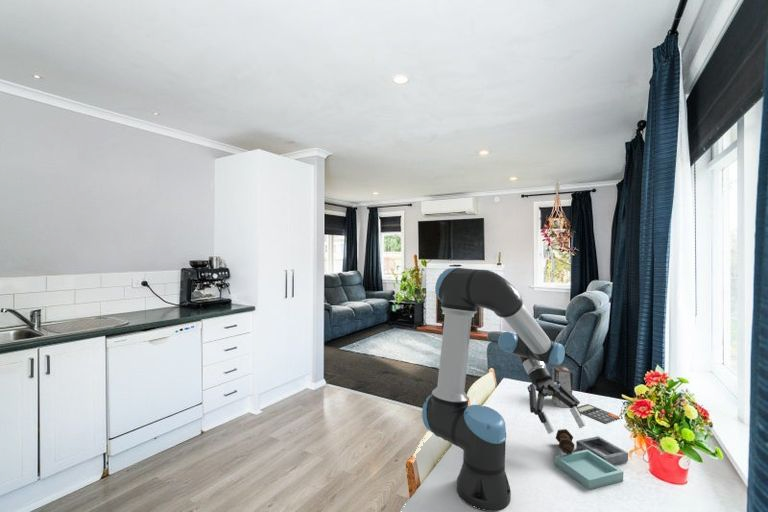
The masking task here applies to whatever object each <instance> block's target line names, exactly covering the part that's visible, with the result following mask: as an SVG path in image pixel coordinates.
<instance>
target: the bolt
mask: <svg viewBox="0 0 768 512" xmlns="http://www.w3.org/2000/svg"><path fill="white" fill-rule="evenodd" d="M555 439H556V441H558V447H559V448H560V450H561V451H562V452H563V454H571V453H573V452H574V449H575V447H576V445H575V443H574V442H573V440H574V436H573V435H572V434H571V432H569V430H568V429H558V430H557V432H556V435H555Z"/></svg>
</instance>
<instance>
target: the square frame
mask: <svg viewBox="0 0 768 512" xmlns="http://www.w3.org/2000/svg"><path fill="white" fill-rule="evenodd" d="M595 448H600V449H601V450H603V451H605V452H607V453H609V454H603V453H601V452H599V451H598V450H596V449H595ZM575 449H576V450H577V452H578V451H582V450H589V451H591V452H592V453H594V454H596V455H597V456H599V457H601V458H602V459H604V460H605V461H607V462H609V463H610V464H612V465H614V466H617V465H620V464H624V462H625V463H628V462H629V452H627V451H626V450H624V449H622V448H620V447H618V446H617V445H614V444H613V443H612V442H609V441H608V440H605V439H604V438H602V437H600V436H599V435H598V436H594V437H588V438H584V439H583V438H582V439H578V440H576V445H575ZM627 461H628V462H627Z"/></svg>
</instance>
